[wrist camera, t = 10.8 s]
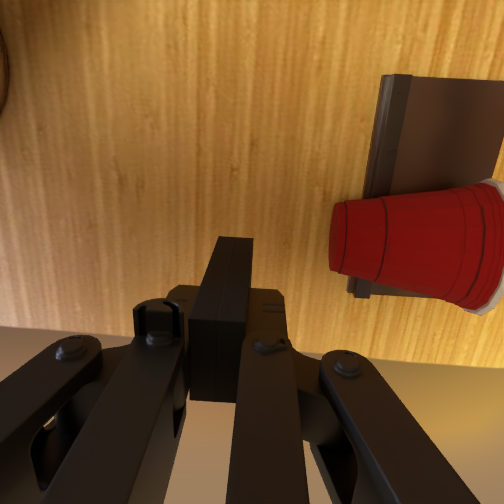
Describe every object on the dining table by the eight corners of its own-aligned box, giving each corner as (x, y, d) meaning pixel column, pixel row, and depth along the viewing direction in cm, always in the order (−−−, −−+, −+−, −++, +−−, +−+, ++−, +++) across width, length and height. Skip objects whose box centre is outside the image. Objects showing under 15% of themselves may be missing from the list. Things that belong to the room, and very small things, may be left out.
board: (346, 290, 37) (349, 297, 35) (381, 75, 30) (387, 73, 28) (453, 297, 37) (461, 304, 35) (516, 82, 29) (528, 80, 28)
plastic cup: (350, 165, 23) (546, 174, 22) (331, 174, 34) (463, 180, 33) (334, 322, 25) (515, 339, 24) (321, 284, 36) (446, 294, 35)
